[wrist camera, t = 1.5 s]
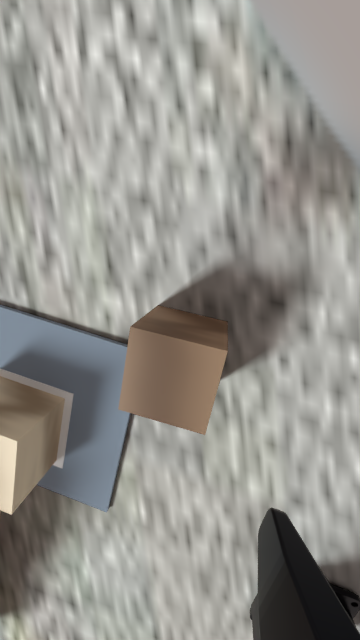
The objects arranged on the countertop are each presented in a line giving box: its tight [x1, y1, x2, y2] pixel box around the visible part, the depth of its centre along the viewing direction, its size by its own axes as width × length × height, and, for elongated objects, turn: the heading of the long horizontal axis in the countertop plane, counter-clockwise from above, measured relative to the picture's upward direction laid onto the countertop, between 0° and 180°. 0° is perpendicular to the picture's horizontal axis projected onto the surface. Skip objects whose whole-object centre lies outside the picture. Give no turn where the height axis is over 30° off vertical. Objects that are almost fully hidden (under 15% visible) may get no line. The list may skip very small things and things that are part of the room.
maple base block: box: [0, 376, 65, 515], centre depth 18 cm, size 6×6×4 cm
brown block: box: [118, 305, 228, 435], centre depth 14 cm, size 4×4×5 cm
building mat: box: [0, 304, 131, 512], centre depth 20 cm, size 13×15×1 cm
